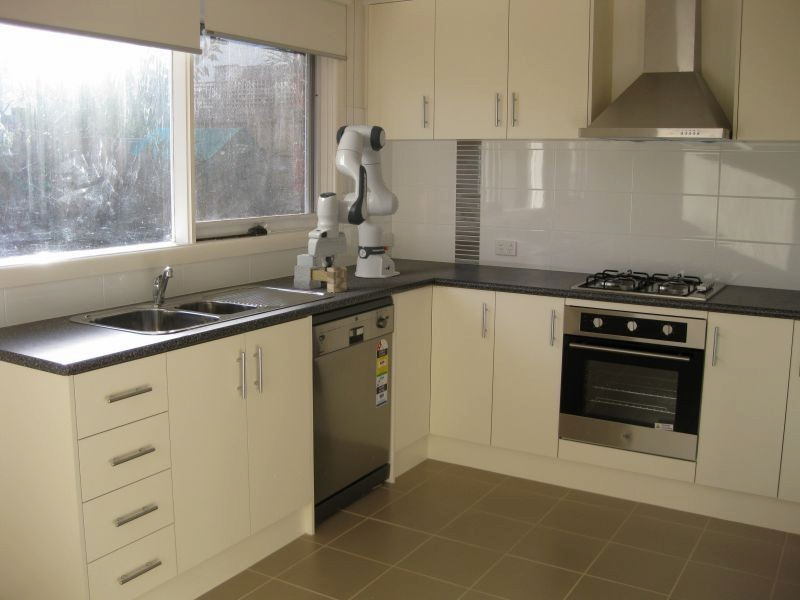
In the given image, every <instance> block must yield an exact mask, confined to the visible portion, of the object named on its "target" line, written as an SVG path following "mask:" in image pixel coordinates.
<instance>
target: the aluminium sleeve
mask: <svg viewBox="0 0 800 600" xmlns="http://www.w3.org/2000/svg"><path fill="white" fill-rule="evenodd" d="M293 267H294V269H293V270H294V278H293V287H294V288H296V289H303V290H305V289H306V290H313V289H320V288H322V281H320V280H312V279H311V269H321V266H320V265H319V266H313V265H298V266H297V265H294V266H293Z"/></svg>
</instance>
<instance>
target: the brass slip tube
mask: <svg viewBox="0 0 800 600" xmlns="http://www.w3.org/2000/svg"><path fill="white" fill-rule="evenodd" d="M325 260H326V262H328V266H326V267H324V269H322V268H320V269H311V279H312V280H320V281H321V282H327V268H329V267H333V266H332V257H331V255H327V256H326V258H325Z"/></svg>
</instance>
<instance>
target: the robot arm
mask: <svg viewBox="0 0 800 600" xmlns="http://www.w3.org/2000/svg"><path fill="white" fill-rule="evenodd" d="M386 138H387V137H386V132H385V129H384V128H383V127H382V126H379V125H369V124H360V125H357V124H356V125H348V124H347V125H343V126H341V127H339V129H338V130H337V131H336V137H335V139H336V144H337V149H336V153H335V159H334V162H335V163H334V164H335V167H336V169H337V171H338V172H340V173H341V174H342V175H343V176H345V177H347V178H349V179H352V180H354V181H355V188H354V189H355V190H354V192H348V193H347V194H346V195H345V196H344V198H343V199H339V197H338V193H336V192H331V191H330V192H329V191H328V192H322V193H321V194H319V195H318V198H317V207H316V216H317V219H318V221H317V224H316V226H317V227H316V228H314V229H313V230H311V231H310V232H308V238H309V239H308V243H307V247H308V248H307V251H308V252H307V254H309V255H310V256H311V257H318V258H319V259H320V262H321V267H323V268H325V267H326V266H328V262H326V260H325V258H326V256H331V257H332V267H335V263H336V262H335V261H336V259H337V258H338V257H337V255H343V254H346V253H347V252H348V244H347V243H348V242H347V238H346V233H345V232H344V231H340V224H345V225H346V224H347V225H355V226H357V233H358V245H357V253H358V256H357V259H356V269H355V272H354V275H355V277H359V278H368V279H370V278H372V279H373V278H374V279H375V278H380V279H381V278H382V279H383V278H391V277H393V276H398V275H400V274H401V272H400V271H396V269H395V268H396V267H395V266H396V264H395V262H394V260H392V259H391V258H390V256H389V255H387V254H386V251H389V246H388V245H387V246H386V245H385V246H384V244H383V242H384V237H383V236H384V235H383V234H384V233H383V232H384V231H383V228H382V227H381V226H380V225H378V224H377V223H376V222H374V221H372V219H371V217H386V216H387V217H388V216H391V215H395V214H396V213H397V211H398V209H399V206H400V205H399V204H400V201H399V199H398V197H397V195H396V194H395V193H393V192H392V191H391V190H390V189H389V188H388V187H387V185H386V183H385V181H384V177H383V169H382V154H381V150H382V149H383V147H384V146H385V144H386ZM368 188H369V190H370V191H368Z"/></svg>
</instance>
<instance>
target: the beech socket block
mask: <svg viewBox="0 0 800 600" xmlns="http://www.w3.org/2000/svg"><path fill="white" fill-rule="evenodd" d="M347 272H348V271H347V266H344V265H337V266H332V267H329V268H327V281H326V284H327V285H326V291H327V293H331V292H333V293H332V294H335V292H336V293H340V292H341V293H342V292H345V291H347V289H348V288H347V283H348V282H347V274H348V273H347Z"/></svg>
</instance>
